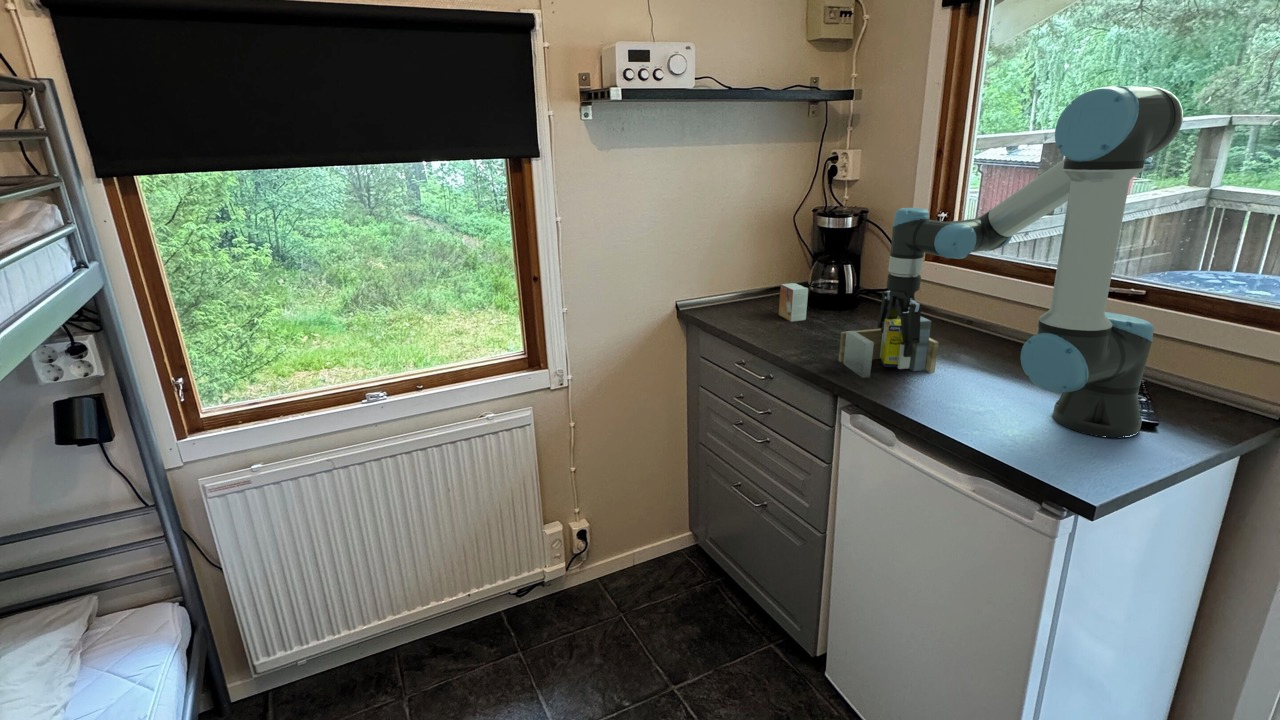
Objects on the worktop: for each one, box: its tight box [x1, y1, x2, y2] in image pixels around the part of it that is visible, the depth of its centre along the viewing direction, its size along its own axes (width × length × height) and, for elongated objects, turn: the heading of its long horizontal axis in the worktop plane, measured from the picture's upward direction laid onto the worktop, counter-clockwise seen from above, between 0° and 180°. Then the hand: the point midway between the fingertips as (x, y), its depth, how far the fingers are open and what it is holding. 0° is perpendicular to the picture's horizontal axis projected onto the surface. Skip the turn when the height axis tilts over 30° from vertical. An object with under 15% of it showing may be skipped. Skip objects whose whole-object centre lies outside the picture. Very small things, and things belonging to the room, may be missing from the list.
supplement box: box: [880, 319, 908, 368], centre depth 165 cm, size 6×6×11 cm
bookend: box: [842, 330, 874, 379], centre depth 167 cm, size 10×2×9 cm, turn 11°
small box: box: [778, 282, 809, 323], centre depth 212 cm, size 8×6×10 cm
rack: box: [838, 311, 939, 374], centre depth 168 cm, size 14×19×13 cm
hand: (894, 362), depth 167 cm, fingers closed on supplement box, 8 cm apart
